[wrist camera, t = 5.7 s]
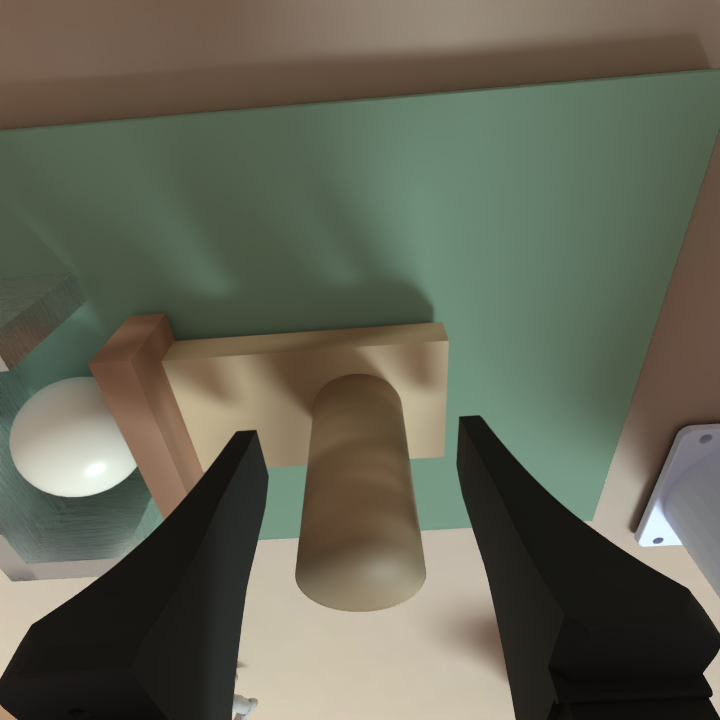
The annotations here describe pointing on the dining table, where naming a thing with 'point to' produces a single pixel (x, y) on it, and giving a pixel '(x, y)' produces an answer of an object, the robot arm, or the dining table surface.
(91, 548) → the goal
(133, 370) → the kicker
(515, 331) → the pitch
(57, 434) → the ball
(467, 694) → the dining table surface
